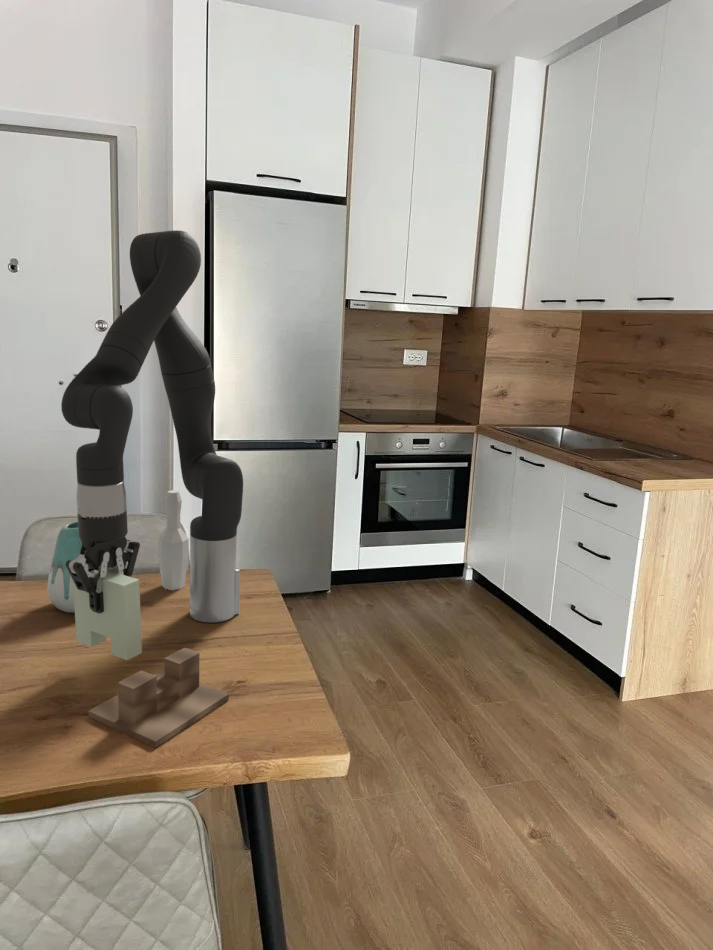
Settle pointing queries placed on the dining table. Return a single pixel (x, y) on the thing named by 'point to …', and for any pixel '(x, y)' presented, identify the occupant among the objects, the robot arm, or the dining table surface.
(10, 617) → the dining table surface
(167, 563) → the faceted bottle
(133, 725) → the slot plate
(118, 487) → the robot arm
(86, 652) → the dining table surface
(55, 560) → the vase
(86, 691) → the dining table surface
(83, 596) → the upright sage green panel
